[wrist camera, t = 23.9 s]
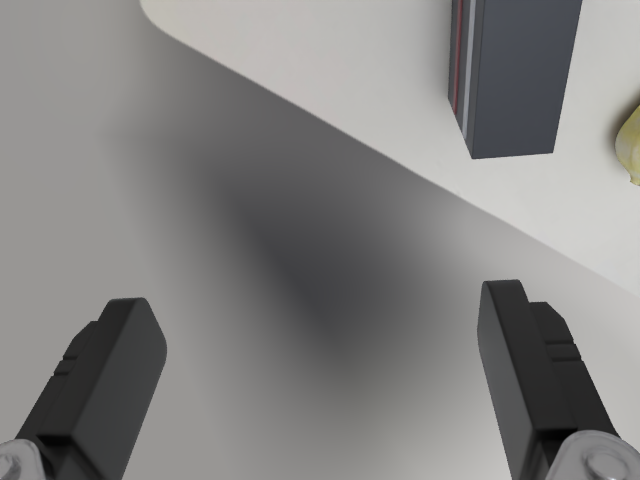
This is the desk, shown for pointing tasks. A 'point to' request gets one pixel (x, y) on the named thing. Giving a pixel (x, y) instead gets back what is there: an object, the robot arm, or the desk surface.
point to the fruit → (630, 146)
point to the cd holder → (510, 73)
